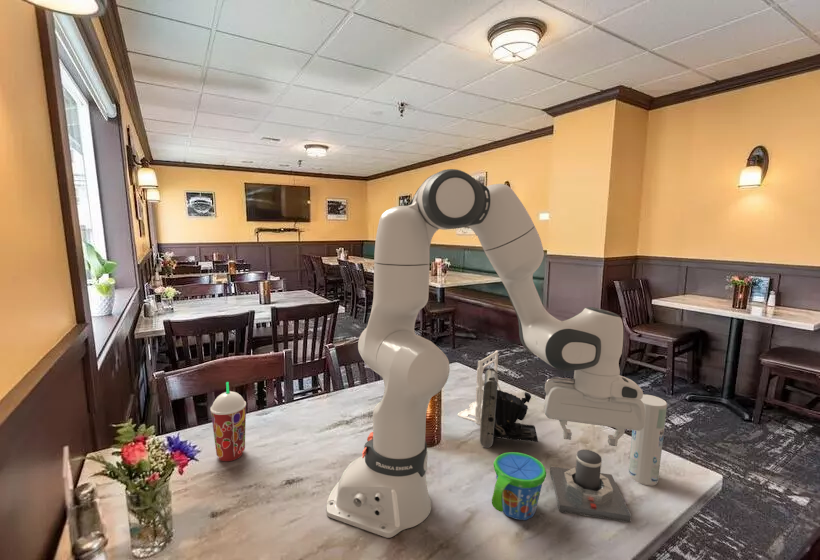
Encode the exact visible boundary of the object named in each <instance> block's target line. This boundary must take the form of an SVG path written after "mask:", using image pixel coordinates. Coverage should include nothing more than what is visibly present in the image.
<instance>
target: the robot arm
mask: <svg viewBox="0 0 820 560" xmlns="http://www.w3.org/2000/svg"><path fill="white" fill-rule="evenodd" d="M465 227H468V228H470V229H471V230H472V231H473V233H474V234H475V235H476V236H477V238H478V241H479V243H480V245H481V247H482V249H483V251H484V253H485V255H486V257H487V259H488V261H489V263H490V264H491V266H492V268H493V270H494V271H495V272H496V274H497V275H498V277H499V279H500V280H501V282H502V284H503V286H504V288H505V291H506V293H507V296H508V298H509V300H510V303H511V305H512V307H513V309H514V312H515V314H516V317H517V322H518V336H519V340H520V343H521V345H522V346H523V348H524V349H525V350H526V351H528V352H529V353H531V354H532V355H535V356H536V357H538V358H539V359H540V360H542V361H543V362H545V363H546V364H547V365H549V366H550V367H552V368H554V369H556V370H559V371H563V372H570V371H571V372H573V371H574V372H573V373H574V374H573V378H565V377H563V378H562V377H559V376H553V377H552V378H548V379H547V380H546V381H545V383H544V393H545V397H544V398H545V399H544V403H543V413H544V415H545V416H546V417H547V418H548V419H549V420H555V421H556V420H557V421H558V422H559V424H560V426H561V428H562V430H563V431H562V437H563V439H564V440H569V441H570V440H572V436H573V435H572V434H573V433H572V430H571V429H570V428H567V427H566V426H568V422H572V423H579V424H585V425H586V424H587V425H594V426H601V427H608V428H609V427H610V428H615V431H614V432H613V434H608V436H607V438H608V439H607V444H608V445H609V446H611V447H618V441H619V440H620V438H622V437H623V435H625V433H626V432H625V430H630V431H632V430H637V431H640V430H641V429H642V428H644V425H645V406H644V403H643V402H642V401H641V399H642V397H643V394H644V392H643V389H642V388H641V387H640V386H639V384H637V383H636V382H635V381H633V380H632V379H630V378H628V377H625V376H623V375H620V373H621V371H620V364H619V363H620V359H621V356H622V354H623V347H624V346H623V345H624V324H623V320H622V317H621V316H620V315H619V314H617V313H615V312H612V311H610V310H605V309H602V308H599V307H592V306H590V307H589V306H588V307H584V309H583V310H582V311H581V312H580V313H578V314H576V315H575V316H573V317H570V318H568V319H565V320H560V319H559V318H556V317H555V316H553V315H552V314H550V312H548V311H547V309H545V306H544V305H543V302H542V299H541V297H540V295H539V292H538V289H537V287H536V285H535V283H534V280H533V279H534V278H533V275H534V273H535V272H536V271H537V270H538V269H539V268H540V266H541V264H542V262H543V260H544V255H545V252H544V248H543V247H544V246H543V243H542V240H541V236H540V235H539V232H538V230H537V228H536V225H535V223H534V222H533V220H532V218H531V216H530V214H529V212H528V210H527V209H526V208H525V206H524V204H523V202H522V201H521V199H520V198H519V196H518V195H517V194H516V193H515V191H514V190H513V188H511V187H510V186H509V185H507V184H503V183H494V184H489V185H484V184H483V183H481V182H480V181H478V180H477V179H475V177H473V176H472V175H470V174H469V173H467V172H465V171H463V170H460V169H455V168H454V169H453V168H450V169H449V168H448V169H443V170H440V171H438V172H436V173H434V174H432V175H430V176H428V177H427V178H426V179H424V181H423V182H422V184H421V185H420V186H419V187H418V188H417V190H416V192H415V194H414V195H413V197H412V199H411V200H410V201H409V204H408V205H398V206H393V207H391V208H388V209H387V210H385V211H384V212H383V213H382V214H381V215H380V217H379V220H378V224H377V230H376V235H375V245H374V255H373V257H374V259H373V261H374V262H373V265H374V267H373V296H372V297H373V299H372V303H371V304H372V305H371V311H370V313H369V318H368V322H367V325H366V328H364V330H362V332H361V333H360V335H359V338H358V342H357V349H358V353H359V355H360V357H361V359H362V360H363V361H364V363H365V365H366V366H367V367H368V368H369V369H371V371H373V372H375V373H376V374H377V375H379V376H380V377H381V378H382V381H383V384H384V388H383V395H382V399H381V400H380V401H379V402H378V403H377V404H376V405H375V406H374V408H373V412H372V431H371V432H369V435H368V437H367V439H366V440H367V441H366V442H365V445H364V446H363V447H364V448H363V450H362V453H361V454H362V455H360V456H359V457H357V458H356V459H354V460H353V461H351V462H350V463H349V464H348V465H347V466H346V468H345V470H344V471H343V473H342V474H341V477H340V480H338V482H337V483H336V484H335V485H334V487H333V488H332V490H331V492H330V494H329V496H328V497H327V501H326V507H325V512H326V516H327V517H329V518H331V519H333V520H336V521H338V522H341V523H344V524H347V525H350V526H353V527H355V528H358V529H361V530H363V531H366V532H370V533H373V534H375V535H378V536H382V537H383V538H387V539H389V538H393V537H394V536H396V535H397V534H399V533H400V532H401V531H404V530H406V529H410V528H413V527H416V526H418V525H419V524H422V522H424V521H425V520H426V519H427V517H429V515H430V513H431V510H432V500H431V497H430V494H429V490H428V484H427V475H426V472H427V470H428V469H427V468H428V447H427V446H428V444H427V441H426V421H427V411H428V407H429V404H430V401H431V399H432V397H434V396H436V395H438V393H439V392H441V391H442V389H443V388H444V387H445V385H446V383H447V381H448V379H449V377H450V370H451V369H450V368H451V367H450V362H449V359H448V357H447V355H446V354H445V353H444V352H443V351H442V350H441V349H440V348H439V347H438V346H437V345H436V344H435V343H434V342H432V341H431V340H430V339H427V338H425V337H423V336H422V335H418V334H417V333H416V331H415V325H416V321H417V317H418V314H419V313H420V311H421V310H422V309H423V308H424V307H425V306H426V305H427V304H428V301H429V295H430V294H429V293H430V291H429V289H430V264H431V263H430V253H431V252H430V248H431V244H432V240H433V238H434V235H435V233H437V232H438V230H443V231H447V230H453V229H454V230H455V229H462V228H465Z"/></svg>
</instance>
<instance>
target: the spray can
mask: <svg viewBox="0 0 820 560" xmlns="http://www.w3.org/2000/svg"><path fill="white" fill-rule="evenodd" d="M641 401H642V402H643V403H644V406H645V425H644V428H642V429H641V430H640V431H637V430H631V441H630V452H629V462H628V463H629V464H628V475H629V477H630V478H631V479H632V480H633V481H635V482H636V483H638V484H641V485H644V486H655V485H657V484H658V482H659V476H660V467H661V459H662V450H663V441H664V434H665V426H666V419H667V416H666V415H667V411H668V410H667V409H668V403H667V401H666V400H664V399H663V398H661V397H659V396H655V395H651V394H646V393H645V394H644V393H643V397H642V399H641Z"/></svg>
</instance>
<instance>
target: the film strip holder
mask: <svg viewBox="0 0 820 560" xmlns="http://www.w3.org/2000/svg"><path fill="white" fill-rule="evenodd" d="M491 359H492V360H491ZM487 361H488V362H487ZM492 363H494V367H493V369H494V370H495V371H496V372H497V373H498V366H499V365H498V363H499V350H495V351H494V352H493V353H491V354H490V355H488V356H487V357H485V358H482V359H481V360H478V361H477V368H476V389H475V401H473V402H471V403H469V404H468V408H465V410H460V411H458V413H457V417H459V418H461V419H464V420H467V421H471V422H474V423H475V424H477V425H478V426H480V424H481V414H482V403H483V391H484V389H483V387H484V380H485V379H483V374H484V370H485V368H486V367H488V366H490V365H491V364H492ZM483 364H484V365H483ZM497 389H498V390H501V391H502V389H501V386H500V384H499V383H498V388H497ZM469 416H473V417H474V418H472V417H469Z"/></svg>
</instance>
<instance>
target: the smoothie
mask: <svg viewBox="0 0 820 560" xmlns="http://www.w3.org/2000/svg"><path fill="white" fill-rule="evenodd" d="M229 383H230V382H229V381H226V382H225V386H226V389H225V391H224V392H222V393H221V394H219V395H218V396H217V397H216V398H215V400H214V401H213V403H212V405H211V406H210V408H209V409H210V415H211V423H212V430H213V437H214V444H215V445H214V446H215V451H216V452H215V453H216V456H217V457H218V458H219V460H220V461H223V462H231V461H235V460H237V459H239V458H240V457H242V456H243V453H244V451H245V449H246V423H247V422H246V419H247V417H246V415H247V401H245V399H244V398H243V396H242V395H241V394H239V393H238V392H236V391H231V390H230V385H229Z"/></svg>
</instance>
